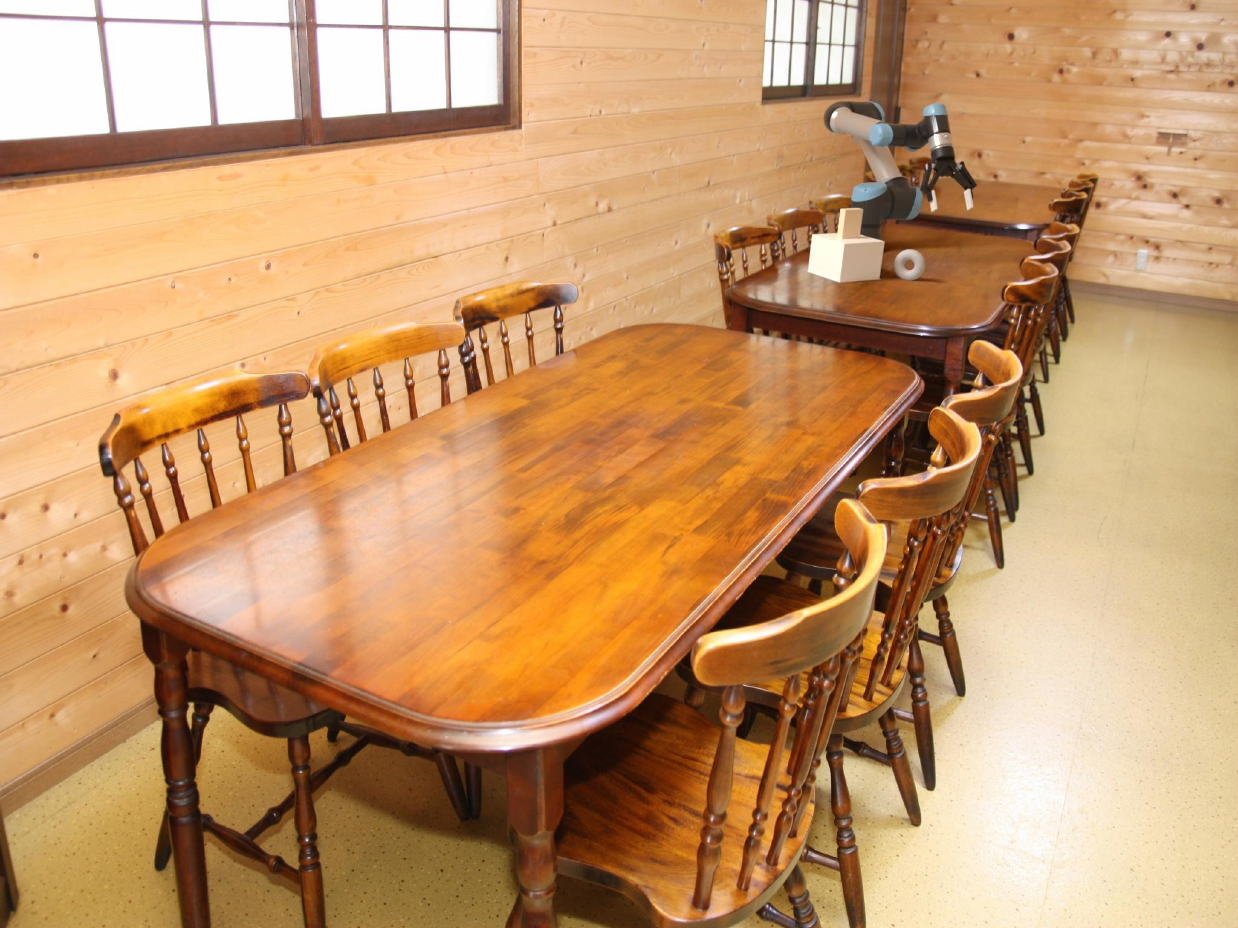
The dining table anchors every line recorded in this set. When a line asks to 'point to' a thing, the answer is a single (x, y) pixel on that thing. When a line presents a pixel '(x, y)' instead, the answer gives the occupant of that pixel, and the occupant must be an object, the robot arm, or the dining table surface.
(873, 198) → the robot arm
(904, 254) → the donut
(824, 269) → the cube with upright tab
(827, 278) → the mat
